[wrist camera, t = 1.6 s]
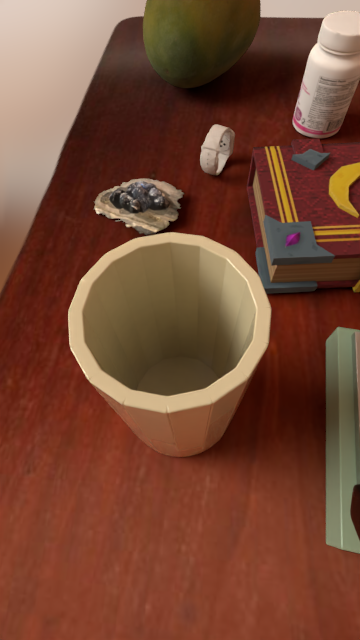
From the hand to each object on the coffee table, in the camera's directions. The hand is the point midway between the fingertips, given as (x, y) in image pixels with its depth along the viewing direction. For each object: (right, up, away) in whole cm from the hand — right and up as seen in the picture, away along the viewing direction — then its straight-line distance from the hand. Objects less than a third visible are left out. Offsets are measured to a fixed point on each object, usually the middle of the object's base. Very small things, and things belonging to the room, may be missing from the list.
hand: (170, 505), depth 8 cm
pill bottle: (+14, +24, +26) cm, 38 cm away
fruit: (+3, +32, +31) cm, 45 cm away
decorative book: (+14, +11, +19) cm, 27 cm away
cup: (0, -1, +13) cm, 13 cm away
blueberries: (-3, +14, +22) cm, 26 cm away
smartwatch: (+4, +19, +24) cm, 30 cm away
